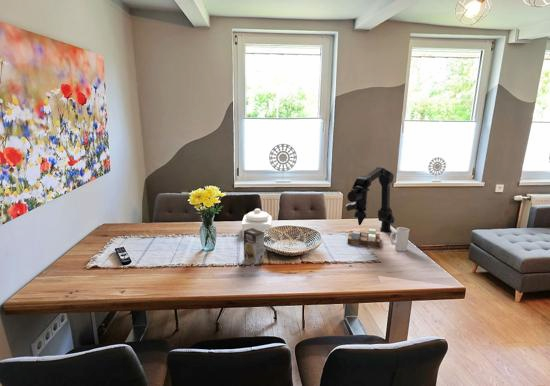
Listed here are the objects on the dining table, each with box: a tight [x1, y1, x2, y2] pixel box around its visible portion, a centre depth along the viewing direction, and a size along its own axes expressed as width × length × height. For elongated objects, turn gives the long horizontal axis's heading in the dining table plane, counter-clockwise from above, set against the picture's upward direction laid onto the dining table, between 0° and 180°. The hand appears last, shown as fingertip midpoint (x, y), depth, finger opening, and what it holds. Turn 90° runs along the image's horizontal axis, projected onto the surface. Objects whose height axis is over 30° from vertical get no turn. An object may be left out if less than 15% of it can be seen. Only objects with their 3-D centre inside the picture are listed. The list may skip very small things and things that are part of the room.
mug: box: [389, 226, 410, 252], centre depth 185 cm, size 10×7×12 cm, turn 89°
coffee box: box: [243, 228, 265, 265], centre depth 171 cm, size 9×6×16 cm
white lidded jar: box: [241, 208, 273, 238], centre depth 210 cm, size 18×18×16 cm
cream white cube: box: [368, 234, 376, 242], centre depth 192 cm, size 4×4×4 cm
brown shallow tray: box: [346, 230, 381, 248], centre depth 197 cm, size 14×18×3 cm
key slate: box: [352, 230, 361, 240], centre depth 194 cm, size 4×4×4 cm
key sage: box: [368, 228, 377, 235], centre depth 198 cm, size 4×4×4 cm
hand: (359, 224), depth 192 cm, fingers closed
